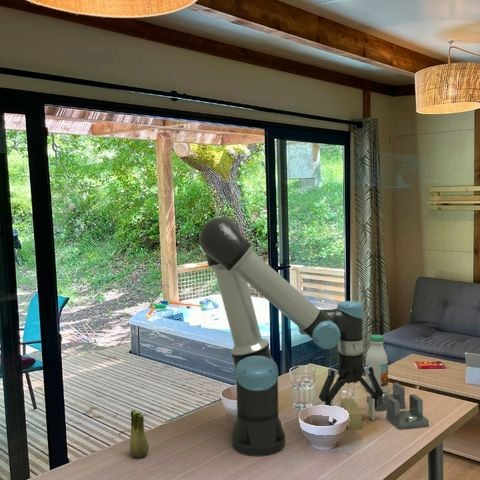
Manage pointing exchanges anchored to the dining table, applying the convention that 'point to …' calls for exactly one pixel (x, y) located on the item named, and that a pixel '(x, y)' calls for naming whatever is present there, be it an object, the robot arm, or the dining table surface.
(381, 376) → the milk bottle
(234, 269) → the robot arm
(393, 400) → the bracket
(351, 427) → the link bar
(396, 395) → the chain end far
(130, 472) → the dining table surface
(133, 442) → the fennel bulb
